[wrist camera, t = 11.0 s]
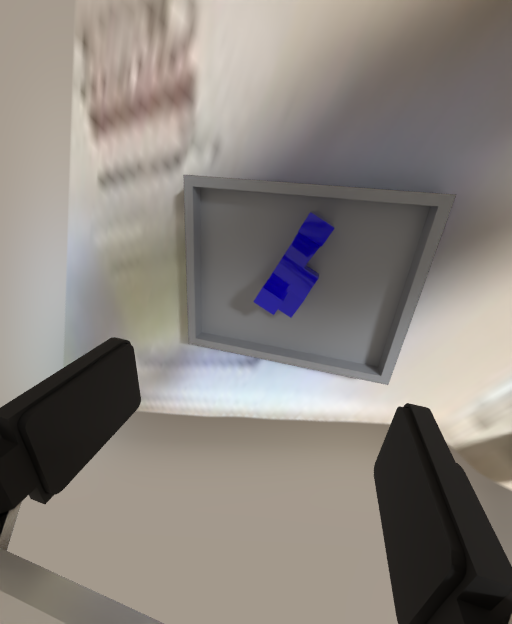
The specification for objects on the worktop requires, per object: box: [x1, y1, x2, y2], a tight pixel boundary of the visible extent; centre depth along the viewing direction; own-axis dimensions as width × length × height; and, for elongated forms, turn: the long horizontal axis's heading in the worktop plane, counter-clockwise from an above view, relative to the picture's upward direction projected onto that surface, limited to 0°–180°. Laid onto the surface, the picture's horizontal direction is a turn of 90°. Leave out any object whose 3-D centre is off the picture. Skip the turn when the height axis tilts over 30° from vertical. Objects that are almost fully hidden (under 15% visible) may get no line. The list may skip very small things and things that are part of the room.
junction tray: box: [183, 175, 456, 385], centre depth 24 cm, size 20×16×2 cm
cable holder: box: [253, 211, 335, 318], centre depth 21 cm, size 8×4×4 cm, turn 149°
